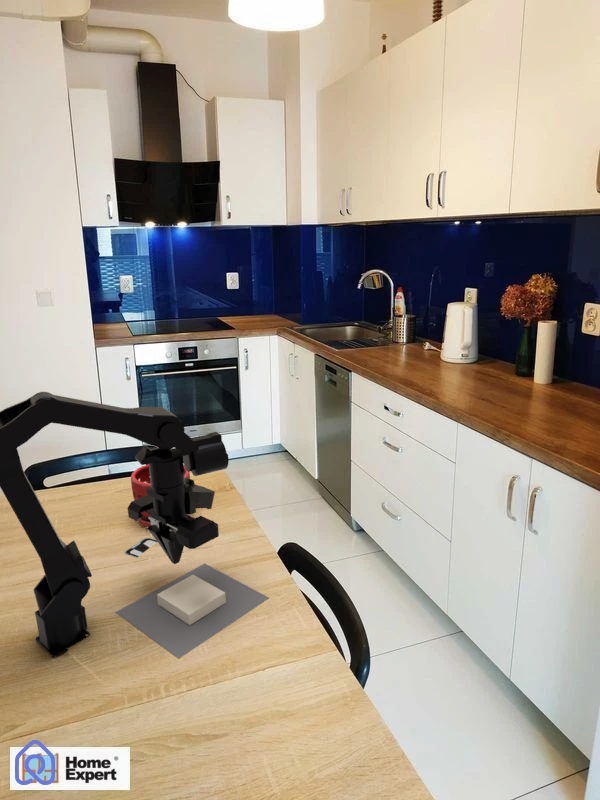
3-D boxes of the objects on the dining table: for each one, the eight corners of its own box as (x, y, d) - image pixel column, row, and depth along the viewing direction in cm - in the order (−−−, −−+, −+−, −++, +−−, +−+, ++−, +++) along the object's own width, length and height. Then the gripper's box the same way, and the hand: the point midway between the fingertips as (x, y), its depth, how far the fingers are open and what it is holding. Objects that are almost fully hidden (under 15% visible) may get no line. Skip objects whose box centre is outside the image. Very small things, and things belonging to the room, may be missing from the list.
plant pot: (135, 536, 127) (129, 486, 124) (136, 510, 140) (131, 464, 136) (195, 528, 130) (190, 479, 127) (191, 503, 143) (187, 458, 139)
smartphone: (179, 572, 113) (122, 552, 120) (179, 576, 113) (122, 557, 120) (202, 554, 119) (147, 536, 126) (202, 558, 119) (147, 540, 126)
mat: (178, 661, 89) (178, 658, 89) (115, 615, 101) (115, 612, 101) (269, 600, 104) (269, 597, 103) (204, 566, 115) (204, 563, 115)
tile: (158, 605, 102) (189, 626, 96) (156, 594, 102) (188, 614, 96) (193, 584, 108) (226, 603, 102) (192, 574, 107) (225, 592, 102)
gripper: (240, 480, 98) (245, 561, 102) (173, 455, 110) (180, 529, 114) (187, 503, 90) (195, 590, 95) (121, 474, 102) (131, 552, 106)
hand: (175, 562), depth 103 cm, fingers closed
